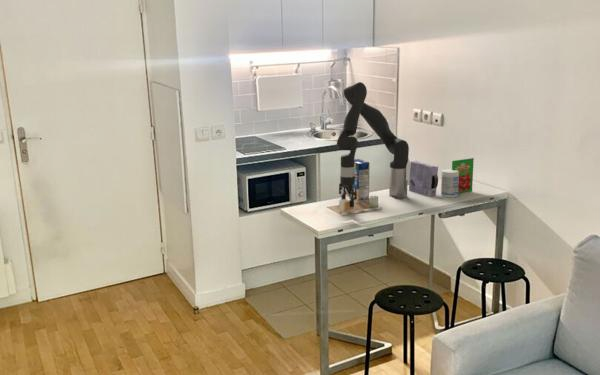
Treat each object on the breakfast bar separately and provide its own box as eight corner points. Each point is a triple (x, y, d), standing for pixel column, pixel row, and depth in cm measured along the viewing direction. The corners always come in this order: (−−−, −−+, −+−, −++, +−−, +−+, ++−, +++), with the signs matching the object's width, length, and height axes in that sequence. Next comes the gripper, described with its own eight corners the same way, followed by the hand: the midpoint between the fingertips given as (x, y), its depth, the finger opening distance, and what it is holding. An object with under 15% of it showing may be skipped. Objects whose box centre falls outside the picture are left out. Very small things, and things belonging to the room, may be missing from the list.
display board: (364, 203, 359) (364, 199, 358) (382, 211, 343) (382, 207, 343) (326, 209, 349) (326, 205, 348) (342, 217, 333) (342, 213, 333)
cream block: (350, 208, 344) (350, 198, 342) (355, 211, 340) (355, 200, 338) (339, 210, 341) (339, 199, 339) (343, 213, 337) (343, 201, 336)
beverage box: (358, 202, 360) (358, 163, 354) (348, 197, 370) (348, 160, 364) (369, 200, 363) (369, 162, 357) (358, 196, 372) (359, 158, 367)
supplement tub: (456, 198, 364) (457, 173, 360) (439, 197, 367) (440, 172, 364) (459, 194, 373) (460, 169, 369) (442, 193, 376) (443, 168, 372)
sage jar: (375, 206, 349) (375, 195, 347) (379, 208, 345) (379, 197, 343) (368, 207, 347) (368, 196, 345) (372, 209, 343) (372, 198, 341)
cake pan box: (438, 196, 370) (439, 165, 366) (431, 197, 367) (433, 167, 363) (414, 189, 385) (415, 160, 381) (408, 190, 383) (409, 161, 378)
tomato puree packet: (451, 195, 371) (452, 161, 366) (450, 194, 372) (451, 160, 367) (472, 191, 377) (474, 158, 372) (471, 191, 378) (472, 157, 373)
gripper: (334, 173, 340) (334, 202, 344) (348, 178, 328) (348, 209, 332) (346, 171, 343) (347, 200, 347) (361, 176, 331) (361, 207, 335)
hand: (347, 204), depth 340 cm, fingers open, 8 cm apart
